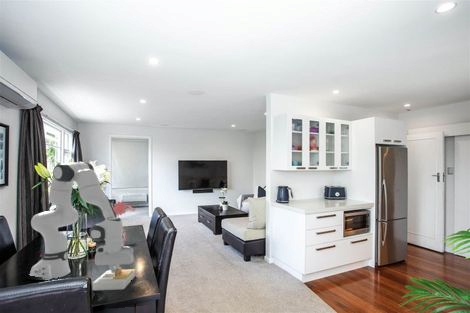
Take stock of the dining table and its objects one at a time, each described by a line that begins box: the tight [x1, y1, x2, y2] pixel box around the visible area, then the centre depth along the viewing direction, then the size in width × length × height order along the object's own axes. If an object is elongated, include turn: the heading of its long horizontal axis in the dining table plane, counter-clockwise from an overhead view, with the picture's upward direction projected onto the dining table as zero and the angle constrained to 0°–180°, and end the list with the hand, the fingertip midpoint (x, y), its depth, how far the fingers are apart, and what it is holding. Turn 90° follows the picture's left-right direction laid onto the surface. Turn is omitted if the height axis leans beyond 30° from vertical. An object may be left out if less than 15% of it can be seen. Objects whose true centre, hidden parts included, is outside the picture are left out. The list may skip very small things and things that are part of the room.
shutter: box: [113, 266, 133, 279], centre depth 142 cm, size 7×9×3 cm
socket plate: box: [92, 268, 136, 291], centre depth 142 cm, size 16×16×4 cm
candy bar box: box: [122, 229, 127, 247], centre depth 192 cm, size 11×5×16 cm, turn 163°
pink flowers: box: [102, 200, 135, 241], centre depth 225 cm, size 15×26×35 cm, turn 138°
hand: (114, 272), depth 142 cm, fingers closed
